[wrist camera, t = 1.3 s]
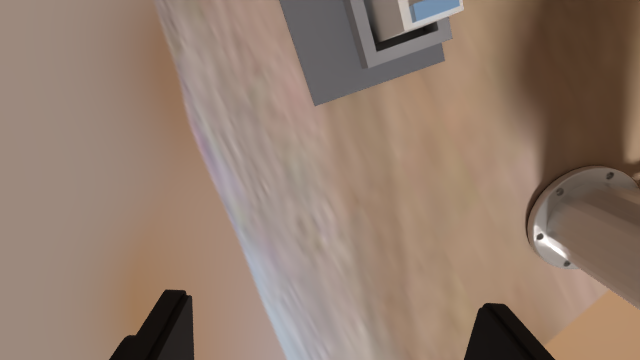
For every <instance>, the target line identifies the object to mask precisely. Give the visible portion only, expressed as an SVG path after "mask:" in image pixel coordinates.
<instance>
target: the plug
mask: <svg viewBox="0 0 640 360" xmlns="http://www.w3.org/2000/svg"><path fill="white" fill-rule="evenodd" d="M363 2H364V5H365V9H366V13H367V17H368V21H369V25H370V29H371V32H372V36H373V40H374V44H377V43H379V42H382V41H385V40H388V39H391V38H393V37H396V36H399V35H402V34H405V33H407V32H410V31H413V30H416V29H418V28H421V27H423V26H426V25H428V24H431V23H433V22H436V21H438V20H441V19H443V18H446V17H448V16H451V15H453V14H456V13H458V12H460V11H463V10H464V7H463V1H462V0H363Z"/></svg>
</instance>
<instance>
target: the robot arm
mask: <svg viewBox="0 0 640 360" xmlns="http://www.w3.org/2000/svg"><path fill="white" fill-rule="evenodd" d="M527 230H528V239H529V242H530V245H531V247H532V248H533V250H534V251H535V253H536V254H537V255H538V256H539V257H540V258H542V259H543V260H544V261H546V262H547V263H549V264H551V265H553V266H555V267H558V268H562V269H581V270H582V271H584V272H585V273H587V274H588V275H590V276H591V277H593V278H594V279H596V280H597V281H598V282H600V283H601V284H603V285H604V286H606V287H607V288H609V289H610V290H612V291H613V292H614V293H616V294H618V295H619V296H620V297H622V298H623V299H625V300H626V301H628V302H629V303H631V304H632V305H633V306H635V307H636V308H638V309H639V310H640V189H639V188H638V186H637V184H636V183H635V182H634V180H633V179H632V178H631V177H630V176H628V175H627V174H625V173H624V172H621V171H619V170H616V169H613V168H609V167H605V166H588V167H582V168H579V169H576V170H573V171H570V172H568V173H567V174H565V175H563V176H561V177H559V178H558V179H557V180H555V181H554V182H553V183H551V184H550V185H549V186H548V187H547V188H546V189H545V190H544V191H543V193H542V194H541V195H540V196H539V198H538V199H537V201H536V203H535V204H534V206H533V208H532V210H531V213H530V216H529V220H528V228H527ZM192 313H193V311H192V296H190V295H189V296H188V295H186V291H184V290H165V291H164V292H163V294H162V295H161V297H160V298H159V300H158V301H157V303H156V305H155V306H154V308H153V309H152V311H151V313H150V314H149V316H148V317H147V319H146V320H145V322H144V323H143V325H142V327H141V328H140V330H139V331H138V333H137V334H136V335H129V336H127V337H125V338H124V339H123V341H122V342H121V343H120V345H119V346H118V347H117V349H116V351H115V352H114V353H113V355H112V356H111V358H110V359H109V360H194V343H193V314H192ZM464 360H555V359H554V358H553V357H552V356H551V355H550V353H549V352H548V351H547V350H546V349H545V348H544V347H543V346H542V344H541V343H540V342H539V341H538V340H537V339H536V338H535V337H534V336H533V334H532V333H531V332H530V331H529V330H528V329H527V328H526V327H525V326H524V324H523V323H522V322H521V321H520V320H519V319H518V318H517V317H516V316H515V314H514V313H513V312H512V311H511V310H510V309H509V308H508V307H507V306H506V305H505V304H496V303H486V304H484V305H483V307H482V308H480V309H479V310H478V313H477V317H476V320H475V323H474V327H473V330H472V334H471V337H470V341H469V344H468V347H467V351H466V354H465V358H464Z"/></svg>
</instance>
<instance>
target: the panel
mask: <svg viewBox="0 0 640 360" xmlns="http://www.w3.org/2000/svg"><path fill="white" fill-rule="evenodd" d="M279 1H280V4H281V7H282V10H283V13H284V16H285V19H286V22H287V25H288V28H289V31H290V34H291V37H292V40H293V43H294V46H295V49H296V52H297V55H298V58H299V61H300V64H301V67H302V70H303V72H304V75H305V78H306V81H307V84H308V87H309V90H310V93H311V96H312V99H313V102H314V105H315V106H317V105H320V104H323V103H326V102H329V101H331V100H334V99H337V98H340V97H343V96H346V95H349V94H351V93H354V92H357V91H360V90H363V89H366V88H368V87H371V86H374V85H377V84H380V83H383V82H386V81H388V80H391V79H394V78H397V77H400V76H403V75H405V74H408V73H411V72H414V71H417V70H420V69H423V68H425V67H428V66H431V65H434V64H437V63H440V62H443V61H445V59H444V53H443V48H442V43H441V42H444V41H447V40H450V39H453V38H452V33H451V28H450V22H449V17H446V18H443V19H441V20H438V21H436V22H433V23H431V24H428V25H426V26H423V27H421V28H418V29H416V30H413V31H410V32H407V33H405V34H402V35H399V36H396V37H393V38H391V39H388V40H385V41H382V42H379V43H377V44H374V40H373V36H372V32H371V29H370V25H369V21H368V17H367V13H366V9H365V5H364V2H363V0H279Z"/></svg>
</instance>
